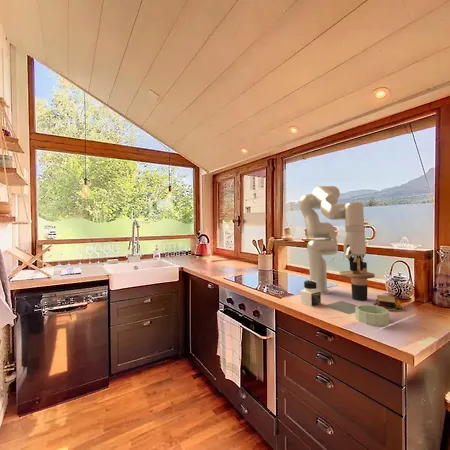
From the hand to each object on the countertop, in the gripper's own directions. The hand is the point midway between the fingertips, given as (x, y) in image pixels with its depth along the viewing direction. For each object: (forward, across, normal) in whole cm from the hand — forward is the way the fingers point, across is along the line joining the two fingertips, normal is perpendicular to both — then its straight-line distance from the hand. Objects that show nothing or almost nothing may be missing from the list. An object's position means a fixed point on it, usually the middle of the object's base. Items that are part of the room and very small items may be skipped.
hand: (356, 269), depth 112 cm
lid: (+3, 0, 0) cm, 3 cm away
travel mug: (+20, -21, -13) cm, 31 cm away
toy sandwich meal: (+20, -20, +2) cm, 28 cm away
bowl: (+20, +2, +7) cm, 22 cm away
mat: (+20, -3, -9) cm, 22 cm away
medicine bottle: (+20, +6, -22) cm, 30 cm away
